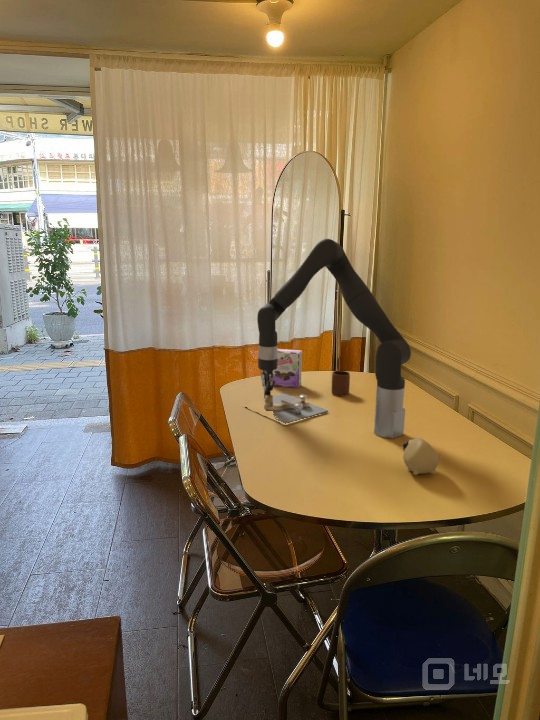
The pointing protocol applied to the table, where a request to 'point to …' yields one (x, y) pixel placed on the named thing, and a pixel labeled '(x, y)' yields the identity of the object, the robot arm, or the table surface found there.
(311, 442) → the table surface
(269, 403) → the link
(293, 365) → the candy box
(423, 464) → the cream rounded piece
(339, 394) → the mug
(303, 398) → the keeper
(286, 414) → the base plate
